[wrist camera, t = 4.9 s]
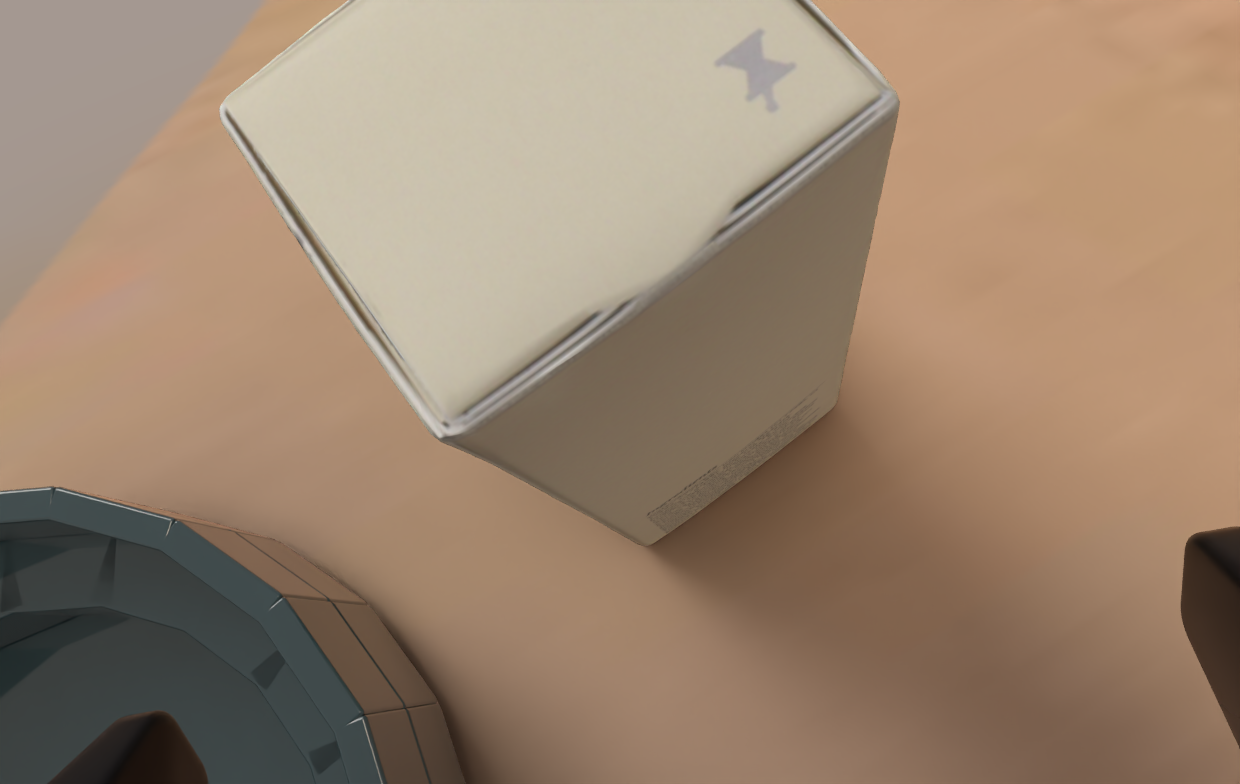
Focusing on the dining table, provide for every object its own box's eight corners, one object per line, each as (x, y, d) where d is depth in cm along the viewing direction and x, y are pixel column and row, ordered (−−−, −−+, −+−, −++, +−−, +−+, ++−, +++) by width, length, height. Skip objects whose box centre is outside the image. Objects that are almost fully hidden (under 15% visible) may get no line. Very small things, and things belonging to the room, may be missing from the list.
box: (711, 251, 22) (634, -239, 10) (844, 410, 21) (943, 76, 9) (512, 400, 22) (184, 90, 10) (635, 569, 21) (438, 456, 9)
